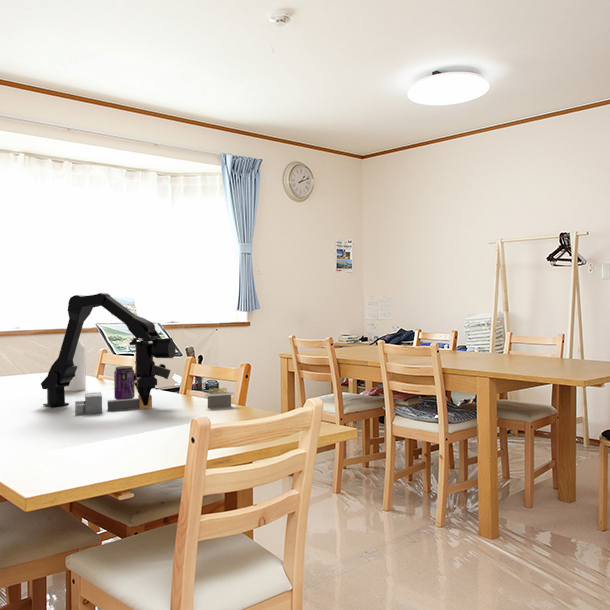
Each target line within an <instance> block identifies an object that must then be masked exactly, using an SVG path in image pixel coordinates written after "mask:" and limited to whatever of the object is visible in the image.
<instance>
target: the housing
mask: <svg viewBox="0 0 610 610" xmlns="http://www.w3.org/2000/svg"><path fill="white" fill-rule="evenodd" d="M102 413H103V393H102V392H101V391H97V392H95V391H94V392H85V393H84V400H76V401H74V414H75V416H80V415H89V414H91V415H92V414H93V415H94V414H102Z"/></svg>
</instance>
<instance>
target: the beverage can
mask: <svg viewBox="0 0 610 610" xmlns="http://www.w3.org/2000/svg"><path fill="white" fill-rule="evenodd" d="M133 368H134V366H130V365H129V366H128V365H127V366H126V365H125V366H116V367H115V369H114V372H113V373H114V374H113V378H114V383H113V384H114V387H113V388H114V389H113V390H114V391H113V392H114V400H121V399H135V396H136V395H135V394H136V393H135V389H136V388H135V384H134V383H135V381H133V375H134V374H135V370H134V369H133Z"/></svg>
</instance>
